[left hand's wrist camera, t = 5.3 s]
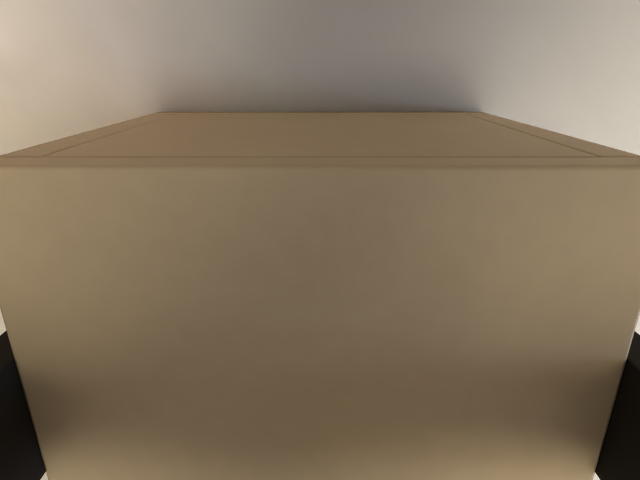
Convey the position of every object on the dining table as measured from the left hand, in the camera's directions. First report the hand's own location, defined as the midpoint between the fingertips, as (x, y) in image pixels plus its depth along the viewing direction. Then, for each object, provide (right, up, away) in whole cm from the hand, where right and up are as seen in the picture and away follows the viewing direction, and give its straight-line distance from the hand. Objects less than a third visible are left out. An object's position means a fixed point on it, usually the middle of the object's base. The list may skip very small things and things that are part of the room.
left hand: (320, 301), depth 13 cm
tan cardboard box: (0, -2, +5) cm, 6 cm away
